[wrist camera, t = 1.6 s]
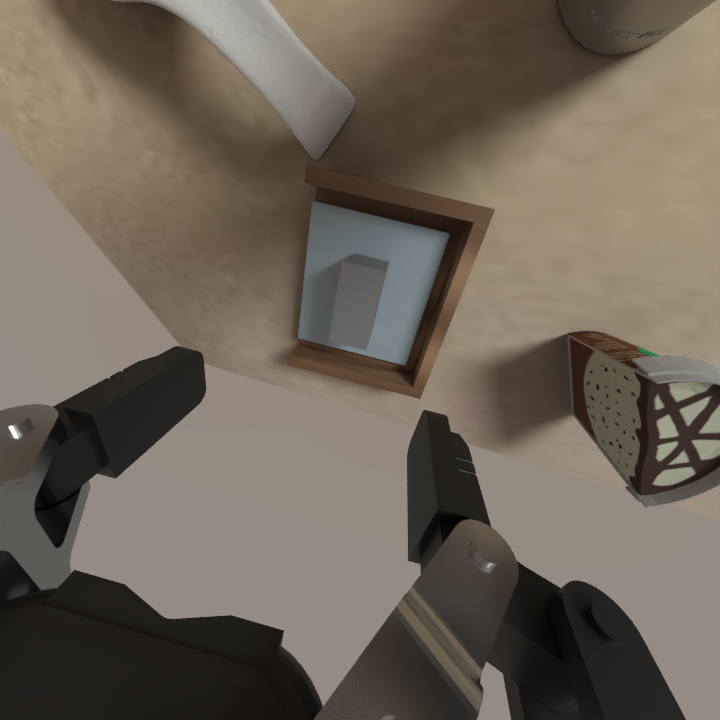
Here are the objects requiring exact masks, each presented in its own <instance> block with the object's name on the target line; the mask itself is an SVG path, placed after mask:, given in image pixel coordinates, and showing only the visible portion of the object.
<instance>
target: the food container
mask: <svg viewBox="0 0 720 720" xmlns="http://www.w3.org/2000/svg"><path fill="white" fill-rule="evenodd" d="M567 345H568V362H569V379H570V396H571V413H572V414H573V415H574V417H575V418H576V419H577V421H578V422H579V423H580V424H581V426H582V427H583V428H584V430H585V431H586V432H587V433H588V435H589V436H590V437H591V439H592V440H593V441H594V442H595V444H596V445H597V446H598V448H599V449H600V450H601V451H602V453H603V454H604V455H605V457H606V458H607V459H608V460H609V462H610V463H611V464H612V466H613V467H614V468H615V469H616V471H617V472H618V473H619V475H620V476H621V477H622V479H623V480H624V481H625V482H626V484H627V485H628V487H626V489H627V490H628V491H629V492H630V493H631V494H632V495H633V496H634V497H635V499H636V500H638V502H641V503H642V504H643V505H644V506H645V507H646V508H647V507H656V506H663V505H668V504H673V503H677V502H680V501H684V500H687V499H691V498H693V497H696V496H699V495H701V494H704V493H706V492H708V491H710V490H712V489H715V488H717V487H719V486H720V369H719V368H717V367H716V366H714V365H711V364H709V363H706V362H704V361H701V360H697V359H692V358H688V357H679V356H659V355H657V354H654V353H652V352H649V351H647V350H645V349H642V348H640V347H637V346H635V345H632V344H630V343H627V342H625V341H623V340H620V339H618V338H615V337H613V336H610V335H608V334H605V333H600V332H594V331H580V332H573V333H568V334H567Z"/></svg>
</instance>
